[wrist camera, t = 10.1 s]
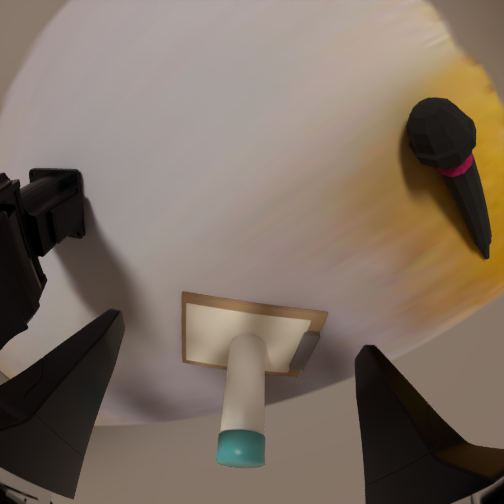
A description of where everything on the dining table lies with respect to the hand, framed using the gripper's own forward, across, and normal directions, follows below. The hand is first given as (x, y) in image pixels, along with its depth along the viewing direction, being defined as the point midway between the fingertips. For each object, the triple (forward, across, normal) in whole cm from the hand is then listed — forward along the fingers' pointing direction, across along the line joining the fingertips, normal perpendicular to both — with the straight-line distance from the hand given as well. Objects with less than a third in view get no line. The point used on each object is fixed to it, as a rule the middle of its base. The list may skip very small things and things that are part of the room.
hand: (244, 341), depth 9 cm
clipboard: (+13, -2, +15) cm, 20 cm away
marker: (+12, -2, +15) cm, 20 cm away
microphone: (+14, -17, -5) cm, 23 cm away
